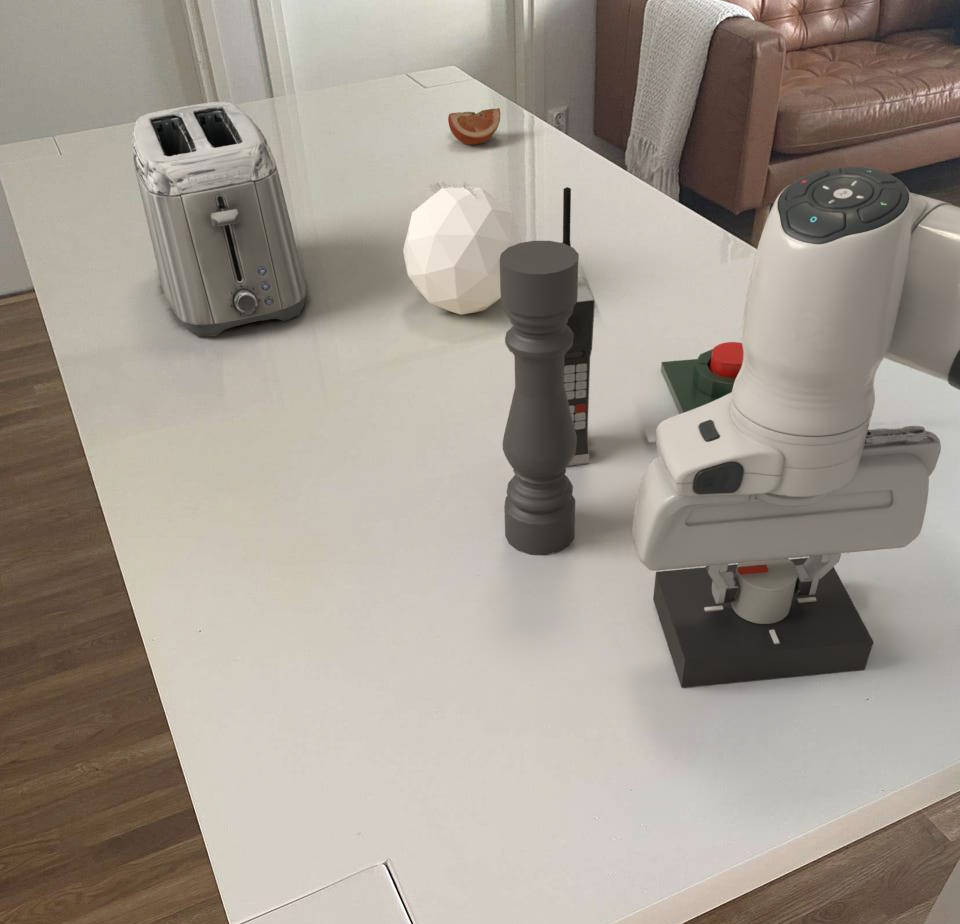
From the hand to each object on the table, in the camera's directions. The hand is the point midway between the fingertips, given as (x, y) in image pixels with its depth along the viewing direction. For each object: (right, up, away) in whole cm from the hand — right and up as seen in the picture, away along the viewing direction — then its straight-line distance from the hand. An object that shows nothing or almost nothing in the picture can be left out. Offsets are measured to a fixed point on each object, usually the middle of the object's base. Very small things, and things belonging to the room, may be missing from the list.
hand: (762, 594), depth 76 cm
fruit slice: (-22, +76, +86) cm, 117 cm away
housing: (+4, +21, +27) cm, 35 cm away
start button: (+4, +24, +25) cm, 35 cm away
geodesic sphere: (-23, +37, +45) cm, 63 cm away
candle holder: (-16, +6, +13) cm, 22 cm away
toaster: (-53, +41, +52) cm, 84 cm away
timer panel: (0, -3, +3) cm, 4 cm away
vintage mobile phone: (-13, +15, +22) cm, 29 cm away
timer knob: (0, -1, +1) cm, 1 cm away
